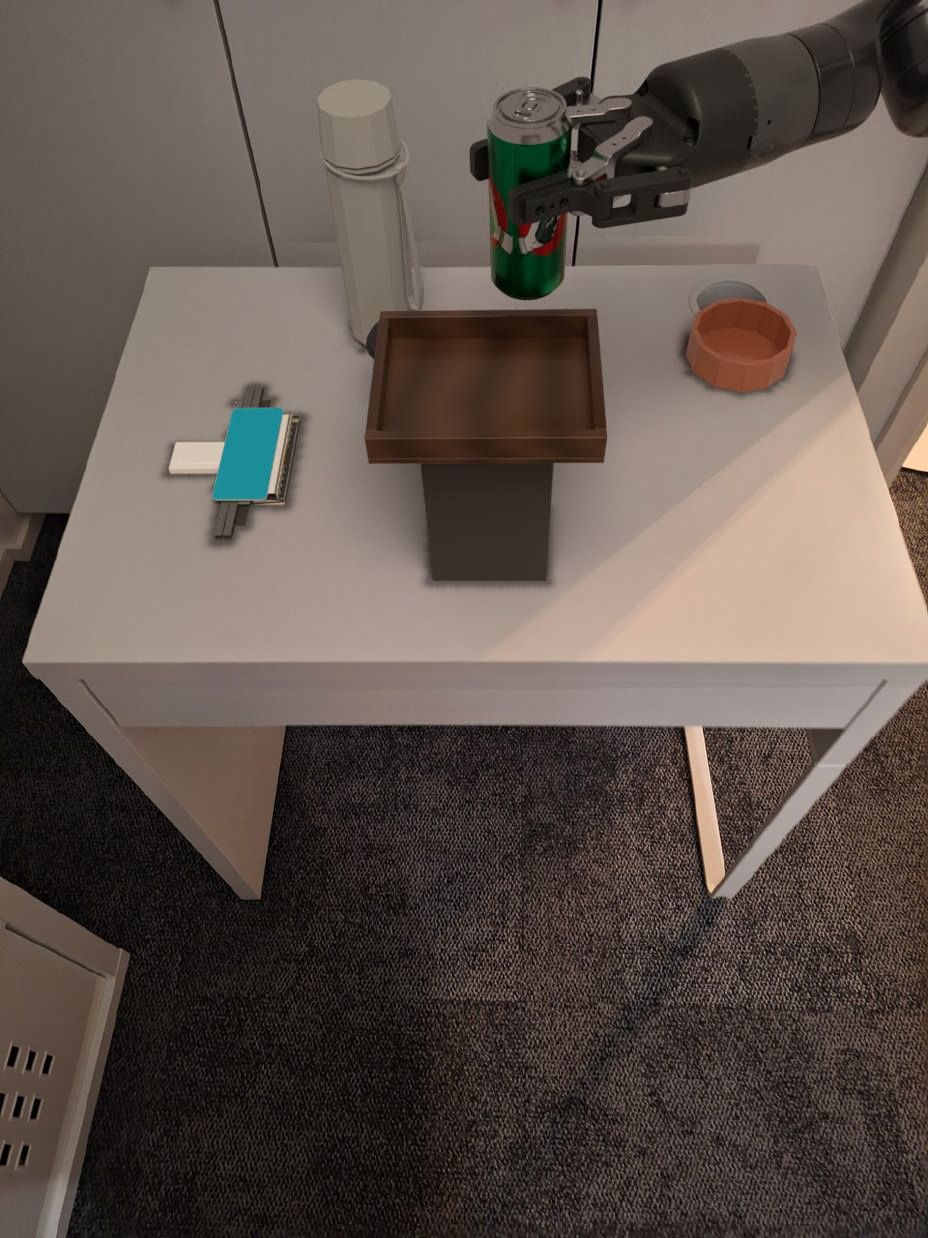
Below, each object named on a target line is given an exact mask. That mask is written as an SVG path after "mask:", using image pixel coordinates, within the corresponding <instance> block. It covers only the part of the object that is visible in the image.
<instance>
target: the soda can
mask: <svg viewBox="0 0 928 1238" xmlns="http://www.w3.org/2000/svg"><path fill="white" fill-rule="evenodd" d="M566 110H567V104H566V101H565V99H564V98H563V97H562V96H561V95H560V94H558V93H557V92H555V91H552V89H549V88H545V87H539V86H538V87H537V86H526V87H518V88H514V89H510V90H508V91H506V92H504V93H502V94H500V95H499V96H498V97H497V98H496V99H495V101H493V104H492V113H491V115H490V116H489V118H488V120H487V123H486V139H487V147H488V179H487V180H488V184H487V185H488V210H489V211H488V213H489V214H488V217H489V219H488V220H489V222H488V223H489V256H490V259H489V260H490V278H491V282H492V284H493V285H494V287H496V288H497V289H498V291H500V292H501V293H502V294H504V295H505V296H507V297H509V298H510V299H514V300H518V301H536V300H539V299H543V298H546V297H548V296H549V295H551V294H552V293H554V291H556V290H557V289H558V288H559V287H560V286H561V285H562V283H563V281H564V280H565V276H566V255H567V254H566V253H567V237H568V236H567V235H568V234H567V233H568V219H569V218H568V216H569V215H568V214H569V212H567V213H564V214H561V215H558V216H555V217H552V218H549V219H546V220H544V219H543V221H539V222H536V223H528V224H525V225H522V226H516V225H515V224H514V223H513V222H512V221H511V220H510V219H509V217H508V194H509V191H510V190H511V189H512V188H513V187H515V186H517V185H521V184H524V183H527V182H530V181H533V180H537V179H540V178H543V177H547V176H550V175H553V174H556V173H559V172H562V171H564V172H565V173H566V174H567V175H568V176H569V177H571V169H570V159H571V150H572V140H571V139H573V138H572V137H573V130H572V120H571V117H570V116H569V114H568V112H567V111H566Z"/></svg>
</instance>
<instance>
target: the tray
mask: <svg viewBox="0 0 928 1238" xmlns="http://www.w3.org/2000/svg"><path fill="white" fill-rule="evenodd" d="M601 353H602V352H601V341H600V329H599V317H598V309H597V308H553V309H552V308H549V309H548V308H547V309H545V308H543V309H542V308H540V309H538V308H537V309H535V308H534V309H532V308H531V309H456V310H455V309H453V310H452V309H450V310H448V309H447V310H445V309H444V310H419V311H417V310H415V311H380V316H379V324H378V333H377V341H376V349H375V357H374V359H373V364H372V365H373V367H372V374H371V382H370V391H369V399H368V407H367V415H366V423H365V431H364V446H365V449H366V456H367V461H368V464H369V465H381V464H382V465H387V464H388V465H393V464H394V465H395V464H396V465H397V464H398V465H401V464H402V465H404V464H406V465H407V464H410V465H413V464H416V465H417V464H419V465H421V464H437V463H554V464H604V463H605V458H606V450H607V444H608V429H607V428H608V427H607V416H606V415H607V414H606V404H605V392H604V378H603V367H602V366H603V365H602V354H601Z"/></svg>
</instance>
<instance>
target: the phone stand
mask: <svg viewBox="0 0 928 1238" xmlns="http://www.w3.org/2000/svg"><path fill="white" fill-rule="evenodd" d="M263 394H264V386H263V384H248V385H247V389H246V393H245V397H244V400H243V404H242V407H235V408H234V409H232V411H231V414H230V418H229V423H228V427H227V431H226V435H225V439H224V441H176V442H175V444H174V448H173V451H172V452H173V453H172V456H171V458H170V462H169V466H168V471H169V473H170V474H171V475H174V474H175V475H177V474H179V475H181V474H183V475H186V474H187V475H188V474H190V475H191V474H192V475H193V474H194V475H195V474H197V475H200V474H201V475H202V474H203V475H209V474H212V475H214V474H216V477H215V481H214V486H213V488H212V489H213V490H212V494H211V498H212V500H214V501H215V502H216V501H217V502H218V501H220V503H219V507H218V508H219V509H218V513H217V519H216V523H215V527H214V533H213V536H215V537H214V541H215V540H218V541H219V540H220V541H221V540H227V541H228V540H230V541H231V540H232V538H233V533H234V528H235V527H245V526H246V524H247V519H248V514H249V510H250V505H251V502H252V506H255V505H257V506H260V505H261V506H263V505H265V506H266V505H268V506H269V505H271V506H274V505H275V506H277V505H278V506H279V505H281V506H283V505H284V506H285V505H286V504H287V499H288V493H289V487H290V483H291V476H292V471H293V466H294V461H295V455H296V449H297V444H298V438H299V432H300V428H301V427H300V426H301V420H302V418H301V416H300V415H296V413H294V414H293V413H292V411H291V410H289V412H288V413H287V414H284V413H285V411H284V409H283V408H282V407H271V403H272V399H262V398H263ZM234 403H235V404H237V401H235V402H234Z"/></svg>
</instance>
